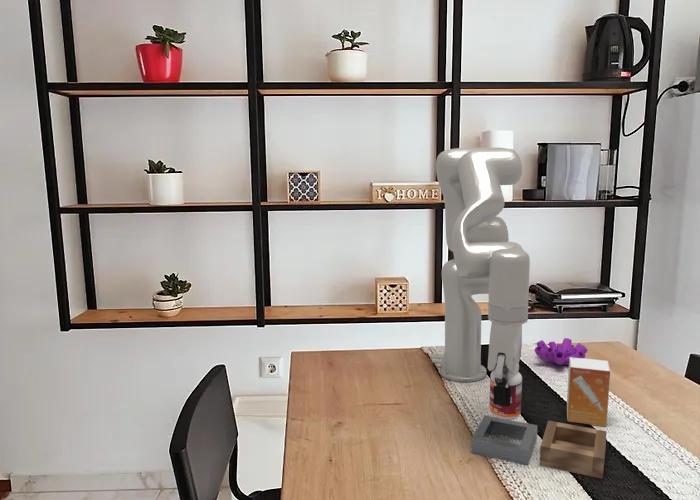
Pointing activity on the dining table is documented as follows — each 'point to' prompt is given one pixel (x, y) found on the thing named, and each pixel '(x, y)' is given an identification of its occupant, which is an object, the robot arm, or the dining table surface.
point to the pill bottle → (516, 393)
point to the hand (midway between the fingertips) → (505, 396)
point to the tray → (573, 449)
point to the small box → (588, 391)
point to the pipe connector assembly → (560, 351)
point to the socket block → (502, 448)
